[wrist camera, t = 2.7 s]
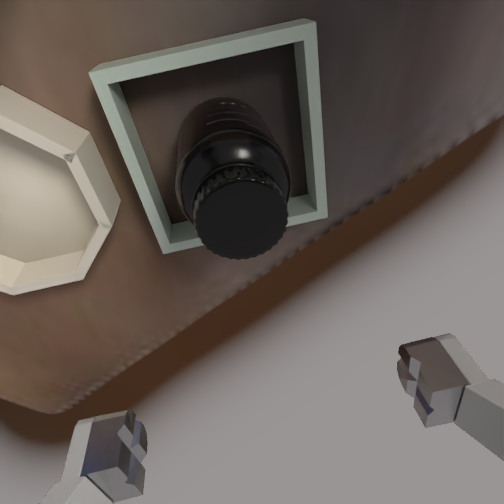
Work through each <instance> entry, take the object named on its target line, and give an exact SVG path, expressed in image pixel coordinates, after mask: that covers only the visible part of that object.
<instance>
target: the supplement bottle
mask: <svg viewBox="0 0 504 504" xmlns="http://www.w3.org/2000/svg"><path fill="white" fill-rule="evenodd" d="M291 189H292V177H291V171H290V168H289V165H288V163H287V160H286V158H285V156H284V154H283V153H282V151H281V149H280V148H279V146H278V144H277V142H276V141H275V139H274V137H273V136H272V134H271V132H270V131H269V129H268V127H267V126H266V124H265V122H264V121H263V119H262V118H261V116H260V115H259V114H258V113H257V112H256V111H255V110H254V109H253V108H252V107H251V106H249V105H248V104H246V103H244V102H242V101H240V100H237V99H233V98H214V99H210V100H208V101H205V102H203V103H201V104H199V105H198V106H197V107H195V108H194V109H193V110H192V111H191V112H190V113H189V114H188V116H187V117H186V118H185V120H184V122H183V124H182V126H181V129H180V133H179V139H178V149H177V163H176V177H175V190H176V197H177V201H178V204H179V206H180V209H181V211H182V212H183V214H184V216H185V217H186V218H187V220H188V221H189V222H190V223H191V224H192V225H193V226H194V227H195V229H196V231H197V236H198V237H199V238H200V239H201V242H202V243H203V244H204V245H206V247H207V249H209V250H211V251H212V252H213V253H214V254H218V255H220V256H221V257H227V258H228V259H237V260H240V259H248V258H251V257H256V256H258V255H260V254H264V253H265V252H266V251H267V250H270V249H271V248H272V247H273V246H274V245H276V244H277V242H278V240H279V239H281V238H282V236H283V233H284V232H285V231H286V225H287V224H288V219H287V218H288V215H289V213H288V211H287V204H288V202H289V199H290V195H291Z"/></svg>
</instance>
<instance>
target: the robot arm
mask: <svg viewBox="0 0 504 504" xmlns="http://www.w3.org/2000/svg"><path fill="white" fill-rule="evenodd" d="M398 353H399V355H400V356H401V359H400V360H399V361H398V362H397V370H398V375H399V378H400V381H401V383H402V386H403V388H404V390H405V391H406V393H408V394H409V395H411V396H412V397H414V398H415V400H414V408H415V410H416V412H417V413H418V415H419V417H420V419H421V421H422V422H423V424H424V426H425V427H426V428H427V427H432V426H436V425H442V424H446V423H451V422H455V424H456V425H457V426H459V427H460V428H461V429H462V430H464V431H465V432H466V433H468V434H469V435H470V436H472V437H473V438H474V439H476V440H477V441H478V442H480V443H481V444H482V445H484V446H485V447H486V448H487V449H489V450H490V451H491V452H493V453H494V454H495V455H497V456H498V457H499V458H501V459H502V460H503V461H504V384H503V383H501V382H499V381H497V380H495V379H493V380H489V379H488V378H487V376H486V375H485V374H484V372H483V371H482V370H481V369H480V367H479V366H478V365H477V363H475V361H474V360H473V358H472V357H471V356H470V355H469V353H468V352H467V351H466V349H465V348H464V347H463V346H462V344H461V343H460V342H459V341H458V340H457V338H456V337H455V336H454V335H452V334H444V335H440V336H437V337H430V338H426V339H422V340H418V341H414V342H410V343H407V344H403V345H401V346H400V347H399V351H398ZM135 417H136V414H135V413H134V411H133V410H132V409H127V410H123V411H118V412H114V413H110V414H106V415H101V416H95V417H91V418H87V419H83V420H79V421H78V423H77V424H76V426H75V428H74V432H73V435H72V439H71V443H70V447H69V450H68V454H67V458H66V462H65V465H64V469H63V473H62V477H61V480H60V482H56V483H55V484H54V485H53V486H52V487H51V489H50V490H49V492H48V493H47V494H46V495H45V497H44V498H43V499H42V501H41V502H40V503H39V504H114V502H117V501H121V500H125V499H128V498H132V497H136V496H140V495H143V488H144V478H145V469H144V467H143V466H142V464H141V462H142V460H143V459H144V457H145V456H146V454H147V434H146V430H145V428H144V425H143V424H142V423H141V422H139V421H137V420H135Z"/></svg>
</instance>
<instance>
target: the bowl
mask: <svg viewBox="0 0 504 504" xmlns="http://www.w3.org/2000/svg"><path fill="white" fill-rule="evenodd" d="M120 202H121V200H120V198H119V195H118V193H117V191H116V189H115V186H114V184H113V182H112V180H111V178H110V175H109V173H108V171H107V169H106V167H105V164H104V162H103V160H102V158H101V155H100V153H99V151H98V149H97V147H96V144H95V142H94V140H93V138H92V136H91V133H90V132H89V131H87V130H85V129H83V128H81V127H79V126H78V125H76V124H74V123H72V122H70V121H68V120H66V119H65V118H63V117H61V116H59V115H57V114H55V113H53V112H52V111H50V110H48V109H46V108H44V107H42V106H40V105H38V104H37V103H35V102H33V101H31V100H29V99H27V98H25V97H24V96H22V95H20V94H18V93H16V92H14V91H12V90H10V89H9V88H7V87H5V86H4V85H2V86H0V291H1V292H5V293H8V294H11V295H16V294H21V293H25V292H30V291H34V290H38V289H43V288H47V287H52V286H56V285H61V284H65V283H70V282H74V281H79V280H83V279H84V277H85V275H86V273H87V271H88V270H89V268H90V266H91V264H92V262H93V260H94V259H95V257H96V255H97V253H98V251H99V249H100V248H101V246H102V244H103V242H104V240H105V238H106V237H107V235H108V233H109V231H110V229H111V227H112V226H113V223H114V220H115V217H116V214H117V211H118V208H119V205H120Z"/></svg>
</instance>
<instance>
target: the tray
mask: <svg viewBox="0 0 504 504" xmlns="http://www.w3.org/2000/svg"><path fill="white" fill-rule="evenodd" d="M289 43H294V52H295V63H296V73H297V84H298V94H299V105H300V115H301V126H302V136H303V147H304V157H305V168H306V178H307V189H308V194H305V195H301V196H296V197H292V198H290V199H289V202H288V204H287V211H288V213H289V215H288V218H287V219H288V224H287V225H286V227H287V226H292V225H296V224H301V223H305V222H310V221H314V220H319V219H323V218H328V210H327V194H326V177H325V161H324V144H323V128H322V111H321V95H320V78H319V61H318V45H317V28H316V22H315V21H312V20H309V19H305V18H302V19H297V20H293V21H288V22H284V23H279V24H275V25H270V26H266V27H261V28H257V29H253V30H248V31H244V32H239V33H235V34H230V35H226V36H221V37H217V38H212V39H208V40H203V41H199V42H195V43H190V44H186V45H181V46H177V47H172V48H168V49H163V50H159V51H154V52H150V53H146V54H141V55H137V56H132V57H128V58H123V59H119V60H114V61H110V62H105V63H101V64H98V65H97V66H96V67H95V68H93V69H92V70H91V71H90V72H89V76H90V78H91V81H92V83H93V85H94V88H95V90H96V93H97V95H98V97H99V100H100V102H101V105H102V107H103V110H104V112H105V114H106V117H107V119H108V122H109V124H110V127H111V129H112V131H113V134H114V136H115V139H116V141H117V143H118V146H119V148H120V151H121V153H122V156H123V158H124V160H125V163H126V165H127V168H128V170H129V173H130V175H131V177H132V180H133V182H134V185H135V187H136V189H137V192H138V194H139V197H140V199H141V202H142V204H143V206H144V209H145V211H146V214H147V216H148V219H149V221H150V223H151V226H152V228H153V231H154V233H155V236H156V238H157V240H158V243H159V245H160V248H161V250H162V252H163V254H167V253H171V252H176V251H180V250H185V249H189V248H194V247H198V246H203V245H204V244H203V243H202V242H201V239H200V238H199V237H198V236H197V231H196V229H195V227H194V226H193V225H192V224H191V223H190V222H189V221H185V222H180V223H176V224H171V221H170V219H169V216H168V213H167V211H166V208H165V205H164V203H163V200H162V197H161V194H160V192H159V189H158V186H157V184H156V181H155V178H154V176H153V173H152V170H151V168H150V165H149V162H148V160H147V157H146V154H145V151H144V149H143V146H142V143H141V141H140V138H139V135H138V133H137V130H136V127H135V125H134V122H133V119H132V116H131V114H130V111H129V108H128V106H127V103H126V100H125V98H124V95H123V92H122V90H121V87H120V84H119V82H120V81H124V80H129V79H133V78H138V77H142V76H146V75H151V74H155V73H160V72H164V71H169V70H173V69H178V68H182V67H187V66H191V65H196V64H200V63H204V62H209V61H213V60H218V59H222V58H227V57H231V56H236V55H240V54H245V53H249V52H254V51H258V50H262V49H267V48H271V47H276V46H280V45H285V44H289Z"/></svg>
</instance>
